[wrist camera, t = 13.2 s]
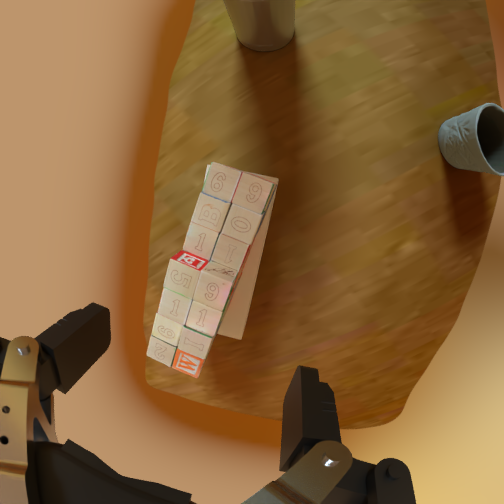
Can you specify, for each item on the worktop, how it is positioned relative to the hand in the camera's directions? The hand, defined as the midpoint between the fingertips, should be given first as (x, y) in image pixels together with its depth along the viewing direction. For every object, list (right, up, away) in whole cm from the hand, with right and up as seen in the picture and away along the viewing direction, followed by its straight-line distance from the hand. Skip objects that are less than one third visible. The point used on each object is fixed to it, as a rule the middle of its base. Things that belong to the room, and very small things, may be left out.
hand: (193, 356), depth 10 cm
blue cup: (+36, +22, +23) cm, 48 cm away
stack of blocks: (-1, +4, +26) cm, 26 cm away
